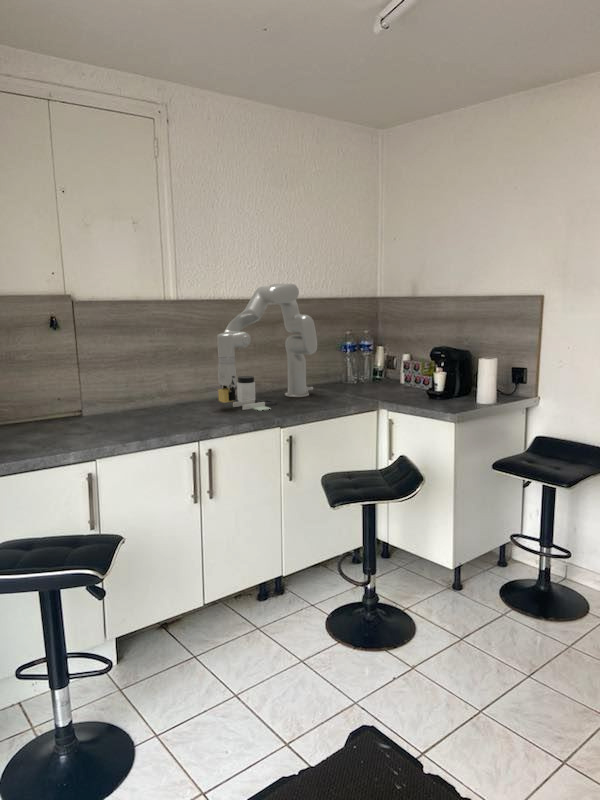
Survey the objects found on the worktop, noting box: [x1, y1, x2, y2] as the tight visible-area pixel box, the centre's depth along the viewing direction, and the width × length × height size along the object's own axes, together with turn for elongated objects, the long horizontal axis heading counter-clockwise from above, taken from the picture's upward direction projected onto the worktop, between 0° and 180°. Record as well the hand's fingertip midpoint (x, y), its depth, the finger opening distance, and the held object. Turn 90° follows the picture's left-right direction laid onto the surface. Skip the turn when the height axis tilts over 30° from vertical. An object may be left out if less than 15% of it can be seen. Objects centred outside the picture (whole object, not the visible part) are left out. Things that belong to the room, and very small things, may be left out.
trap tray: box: [255, 399, 277, 407], centre depth 279 cm, size 7×8×1 cm
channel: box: [232, 398, 266, 411], centre depth 273 cm, size 12×10×2 cm
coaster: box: [251, 406, 272, 412], centre depth 267 cm, size 6×6×1 cm
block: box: [217, 387, 235, 404], centre depth 264 cm, size 5×5×6 cm
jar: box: [236, 375, 256, 402], centre depth 287 cm, size 9×8×12 cm
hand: (229, 399), depth 266 cm, fingers closed on block, 5 cm apart
